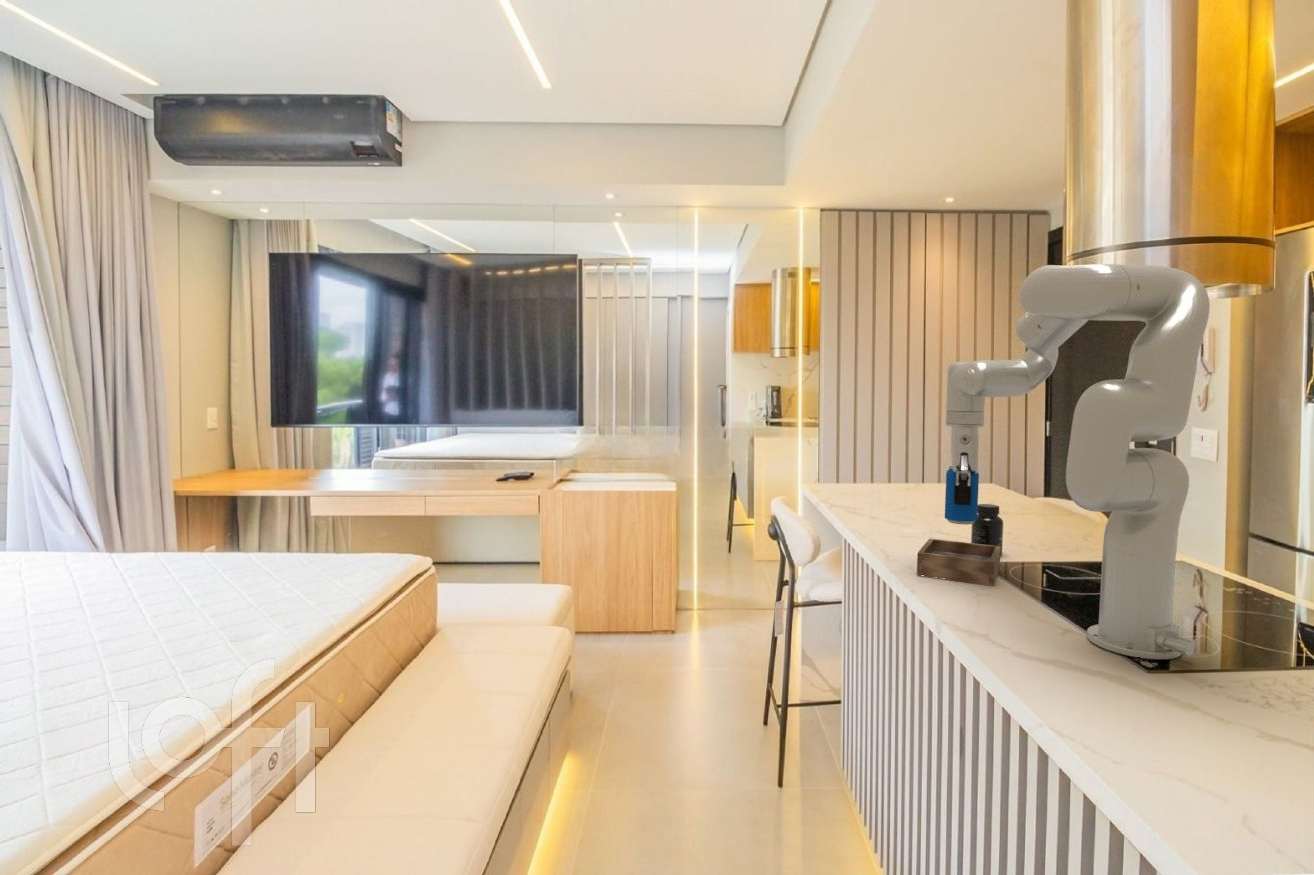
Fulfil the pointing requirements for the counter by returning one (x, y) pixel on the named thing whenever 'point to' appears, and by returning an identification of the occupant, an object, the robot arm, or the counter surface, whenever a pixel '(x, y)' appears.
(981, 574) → the bore box
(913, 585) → the counter surface
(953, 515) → the beverage can
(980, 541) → the supplement bottle
